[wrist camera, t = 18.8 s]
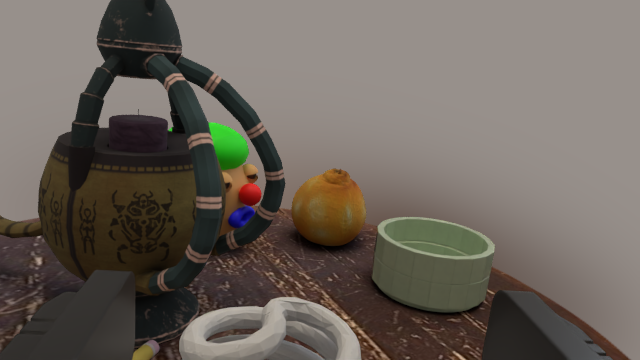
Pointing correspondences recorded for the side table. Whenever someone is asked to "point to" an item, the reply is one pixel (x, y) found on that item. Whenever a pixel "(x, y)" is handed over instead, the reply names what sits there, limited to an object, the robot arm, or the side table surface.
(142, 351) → the pencil
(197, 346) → the light bulb
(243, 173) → the figurine
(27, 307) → the side table surface
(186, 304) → the teapot
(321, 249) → the side table surface
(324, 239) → the fruit
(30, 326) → the robot arm
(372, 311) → the side table surface
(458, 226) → the bowl
